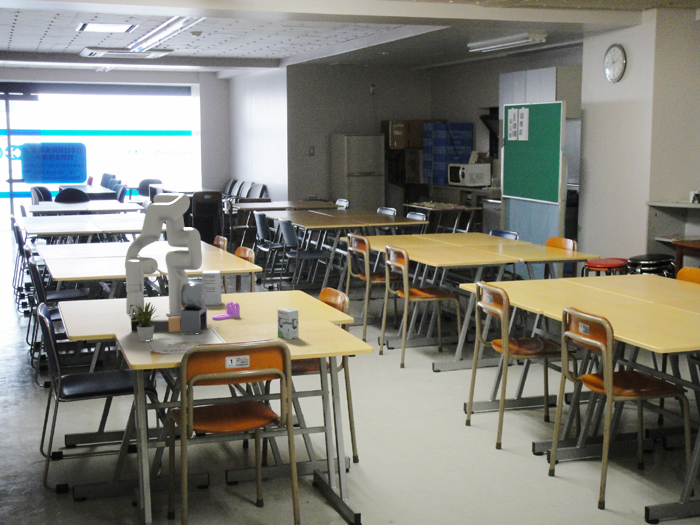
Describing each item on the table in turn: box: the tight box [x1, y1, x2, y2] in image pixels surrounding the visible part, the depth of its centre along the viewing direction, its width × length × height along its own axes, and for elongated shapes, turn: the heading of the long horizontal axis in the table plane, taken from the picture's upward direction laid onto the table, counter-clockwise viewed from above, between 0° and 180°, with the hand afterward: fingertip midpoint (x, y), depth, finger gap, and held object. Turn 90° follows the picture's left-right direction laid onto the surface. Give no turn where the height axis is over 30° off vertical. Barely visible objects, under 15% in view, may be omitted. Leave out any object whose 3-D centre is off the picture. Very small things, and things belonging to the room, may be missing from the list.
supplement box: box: [201, 270, 222, 306], centre depth 409 cm, size 10×9×17 cm
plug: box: [131, 316, 182, 332], centre depth 342 cm, size 5×23×6 cm, turn 85°
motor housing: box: [181, 282, 208, 335], centre depth 340 cm, size 12×8×21 cm, turn 175°
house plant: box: [128, 302, 158, 342], centre depth 324 cm, size 14×14×16 cm
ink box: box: [277, 307, 299, 340], centre depth 327 cm, size 9×5×12 cm, turn 44°
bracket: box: [211, 301, 241, 321], centre depth 370 cm, size 13×6×7 cm, turn 132°
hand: (136, 328), depth 344 cm, fingers closed on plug, 3 cm apart
